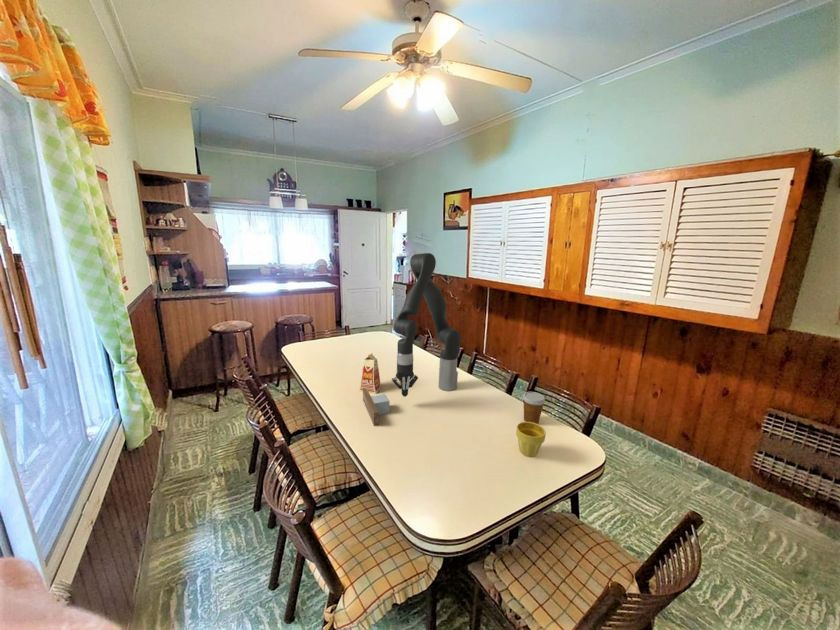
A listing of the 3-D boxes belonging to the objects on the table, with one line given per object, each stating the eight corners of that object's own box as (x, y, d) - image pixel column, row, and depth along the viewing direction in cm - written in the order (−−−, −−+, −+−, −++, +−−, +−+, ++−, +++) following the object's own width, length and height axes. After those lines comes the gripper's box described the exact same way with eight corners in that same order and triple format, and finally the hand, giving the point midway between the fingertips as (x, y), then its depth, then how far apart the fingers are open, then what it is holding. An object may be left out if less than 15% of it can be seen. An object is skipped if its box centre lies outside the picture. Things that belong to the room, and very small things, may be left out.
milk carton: (375, 393, 166) (375, 356, 162) (358, 391, 168) (358, 355, 163) (381, 386, 175) (381, 351, 170) (365, 384, 177) (364, 349, 172)
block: (385, 405, 155) (385, 394, 153) (389, 413, 148) (389, 401, 147) (370, 408, 152) (370, 396, 151) (374, 415, 146) (374, 403, 144)
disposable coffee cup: (515, 417, 148) (518, 393, 145) (532, 413, 152) (534, 389, 149) (530, 428, 140) (533, 402, 137) (547, 424, 143) (550, 399, 141)
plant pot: (527, 463, 117) (530, 439, 115) (508, 446, 126) (511, 424, 124) (548, 456, 121) (552, 433, 119) (529, 441, 130) (532, 419, 128)
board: (366, 399, 160) (366, 388, 159) (378, 425, 138) (378, 412, 137) (362, 399, 159) (362, 388, 158) (373, 425, 137) (373, 413, 136)
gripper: (415, 357, 155) (415, 390, 159) (388, 360, 150) (389, 394, 154) (421, 362, 148) (420, 397, 152) (393, 366, 144) (393, 401, 148)
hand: (404, 395), depth 153 cm, fingers closed
